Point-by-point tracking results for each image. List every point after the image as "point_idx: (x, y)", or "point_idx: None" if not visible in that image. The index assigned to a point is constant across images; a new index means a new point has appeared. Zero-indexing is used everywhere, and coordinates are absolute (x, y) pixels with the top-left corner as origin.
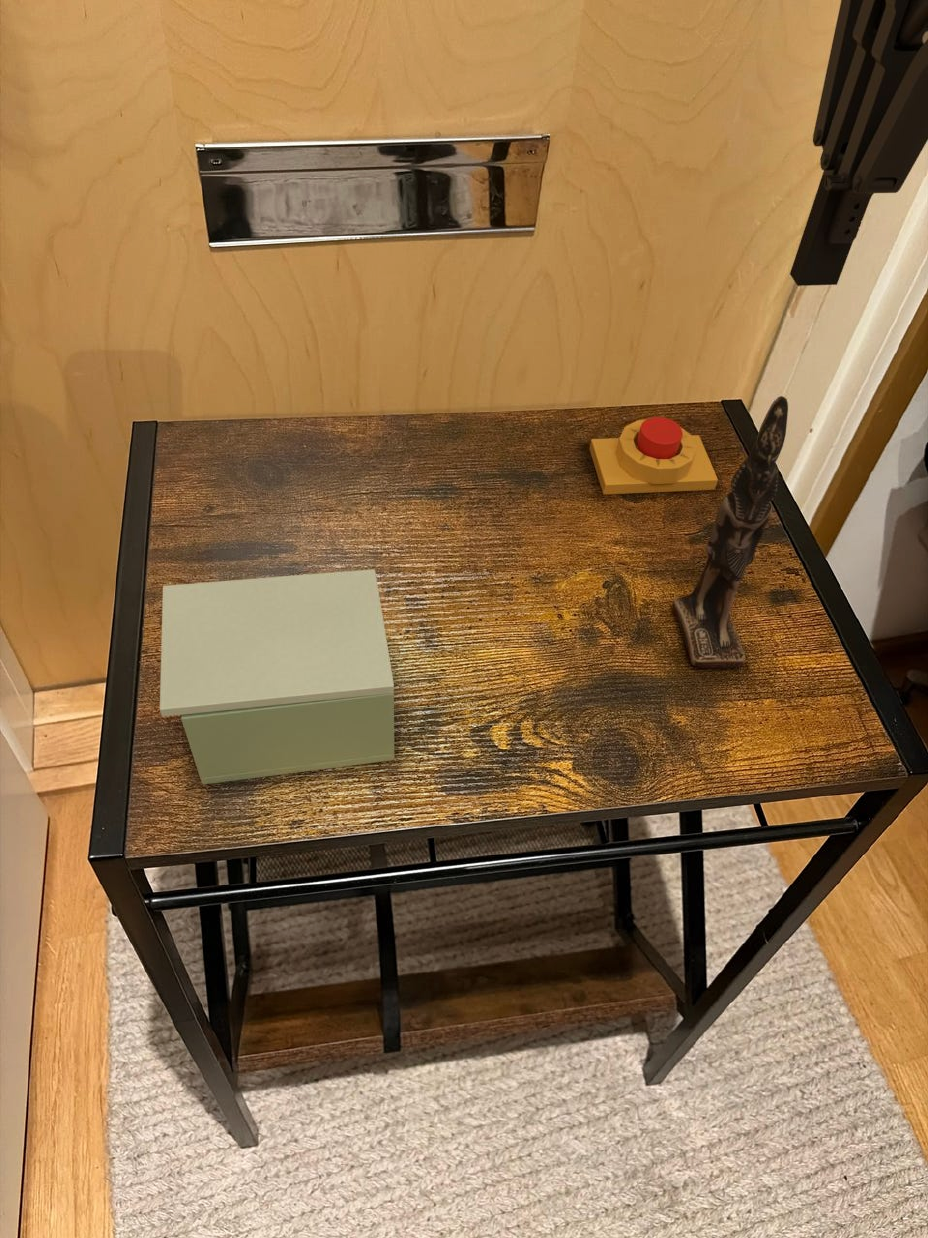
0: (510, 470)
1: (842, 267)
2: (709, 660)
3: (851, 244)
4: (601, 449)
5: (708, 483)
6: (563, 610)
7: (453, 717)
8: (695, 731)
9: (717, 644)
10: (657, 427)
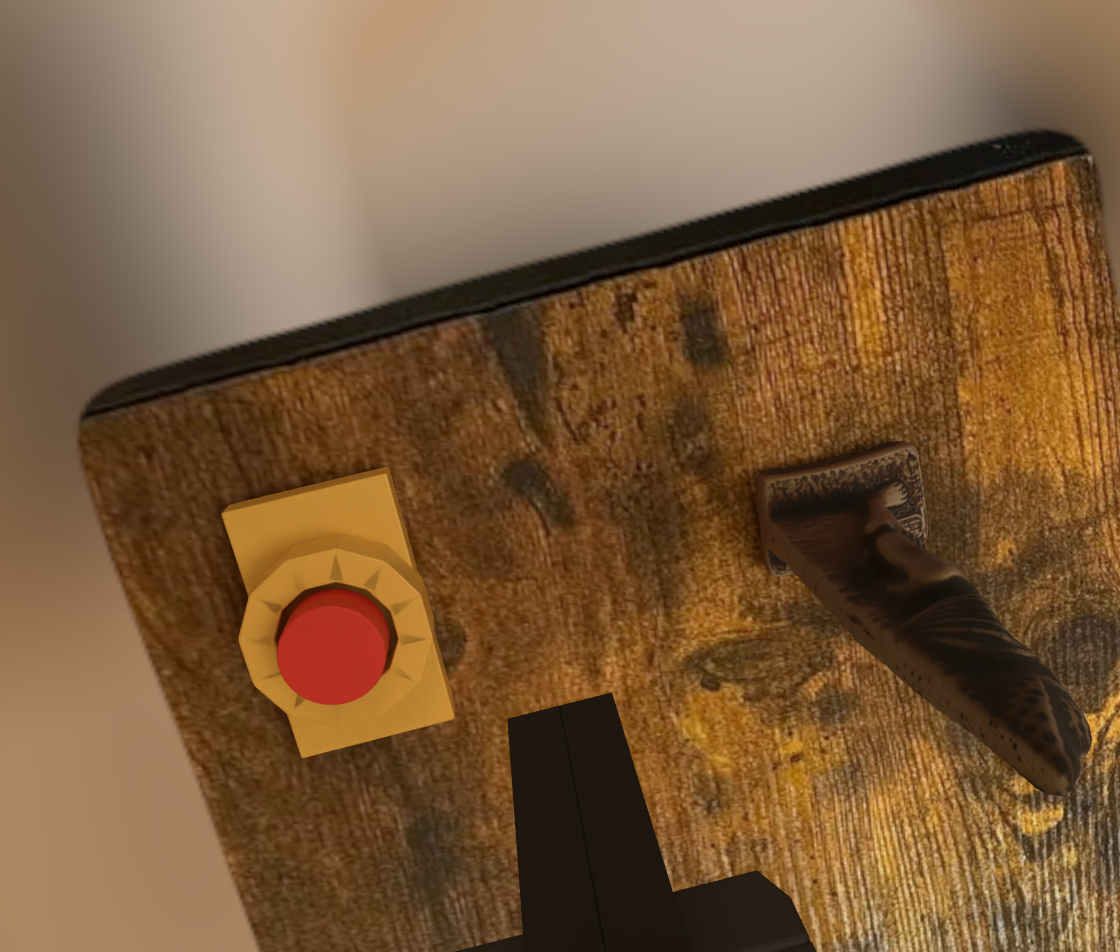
0: (414, 887)
1: (623, 739)
2: (926, 517)
3: (646, 810)
4: (335, 734)
5: (392, 490)
6: (781, 753)
7: (1009, 888)
8: (1028, 524)
9: (902, 507)
10: (322, 666)
